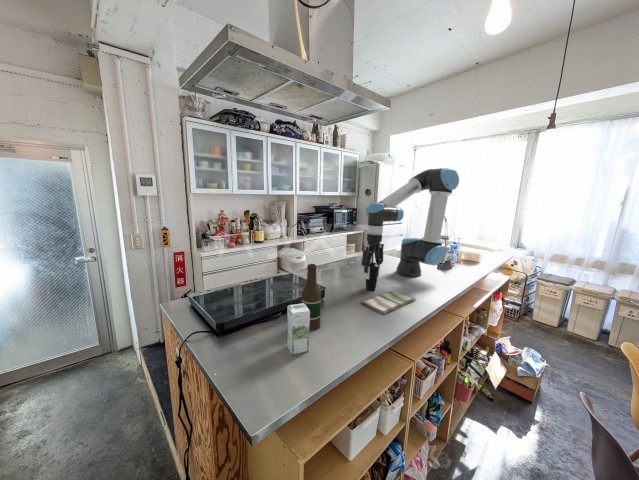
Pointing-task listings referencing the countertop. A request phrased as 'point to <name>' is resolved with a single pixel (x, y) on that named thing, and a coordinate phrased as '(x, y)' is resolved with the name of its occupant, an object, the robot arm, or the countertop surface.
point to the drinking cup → (372, 276)
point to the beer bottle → (312, 297)
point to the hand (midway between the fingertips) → (371, 277)
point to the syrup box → (298, 328)
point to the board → (388, 302)
